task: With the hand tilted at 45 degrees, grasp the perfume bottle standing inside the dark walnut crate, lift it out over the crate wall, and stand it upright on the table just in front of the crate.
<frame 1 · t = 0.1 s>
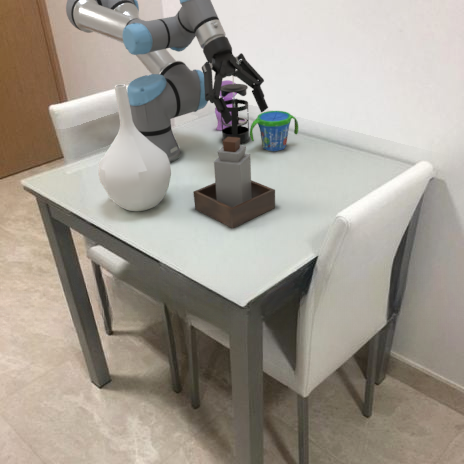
hand: (247, 116, 140), 15 cm above the table, tool tilted 35°, fingers open, 13 cm apart
perfume bottle: (234, 209, 129), resting in crate
crate: (234, 208, 129), on the table
toy chair: (227, 127, 180), on the table
sippy cup: (274, 148, 162), on the table
vase: (140, 203, 135), on the table
french press: (235, 140, 169), on the table
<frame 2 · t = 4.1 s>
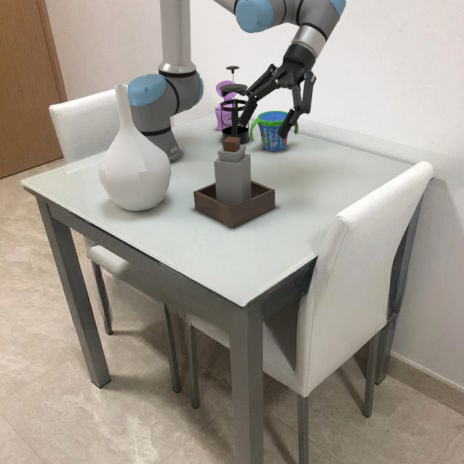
hand: (260, 130, 123), 18 cm above the table, tool tilted 45°, fingers open, 13 cm apart
nothing on the table moved.
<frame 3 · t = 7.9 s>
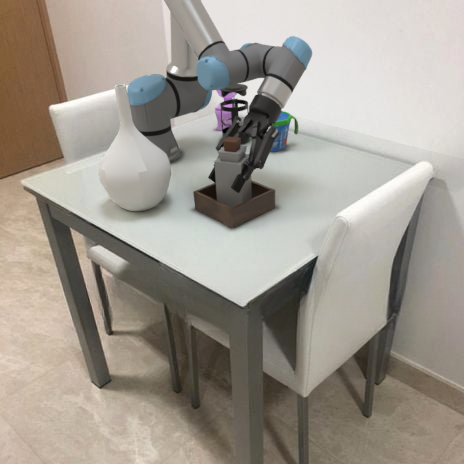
hand: (223, 185, 123), 8 cm above the table, tool tilted 45°, fingers closed on perfume bottle, 8 cm apart
perfume bottle: (235, 209, 129), resting in crate, touching gripper
everything else where it was.
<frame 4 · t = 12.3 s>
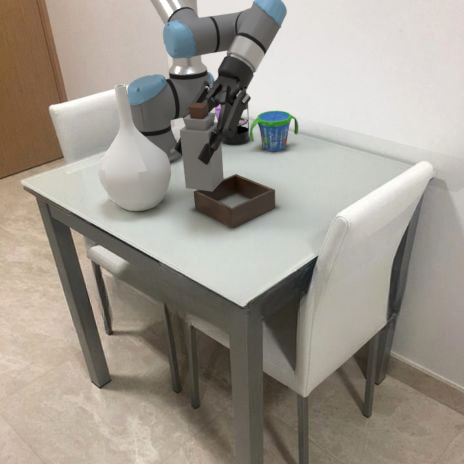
hand: (190, 156, 112), 18 cm above the table, tool tilted 45°, fingers closed on perfume bottle, 8 cm apart
perfume bottle: (205, 184, 119), point 10 cm above the table, touching gripper
everything else where it was.
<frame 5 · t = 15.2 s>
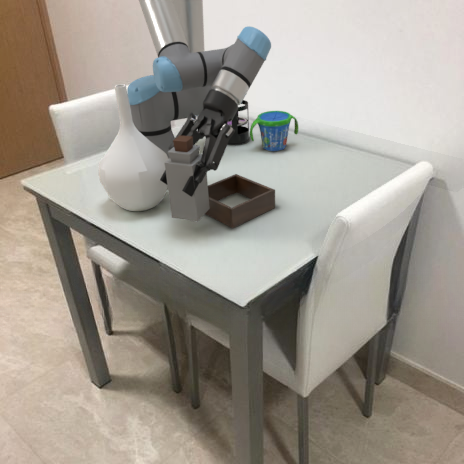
hand: (175, 188, 113), 12 cm above the table, tool tilted 45°, fingers closed on perfume bottle, 8 cm apart
perfume bottle: (190, 213, 120), point 4 cm above the table, touching gripper
everything else where it was.
when the fingers open (8 cm above the table, at t = 17.1 s): perfume bottle stays where it is, on the table.
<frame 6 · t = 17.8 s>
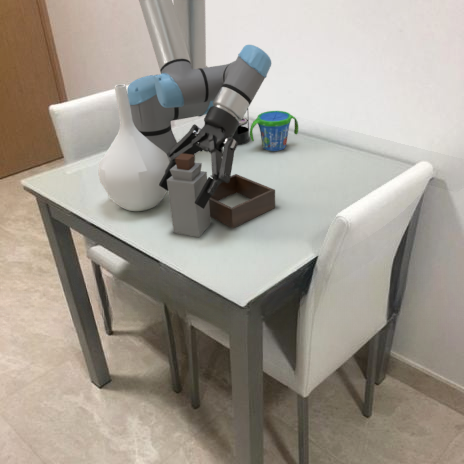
hand: (180, 196, 116), 9 cm above the table, tool tilted 45°, fingers open, 13 cm apart
perfume bottle: (192, 229, 122), on the table
everything else where it was.
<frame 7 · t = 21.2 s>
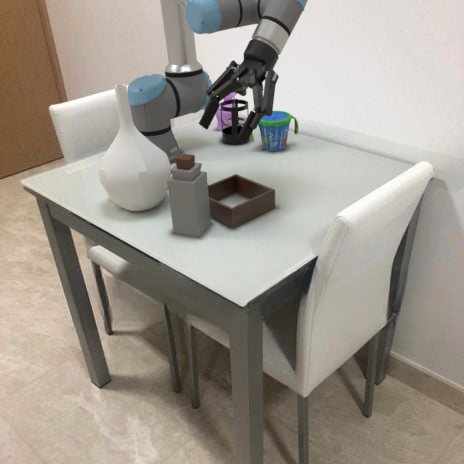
hand: (221, 133, 116), 20 cm above the table, tool tilted 40°, fingers open, 13 cm apart
nothing on the table moved.
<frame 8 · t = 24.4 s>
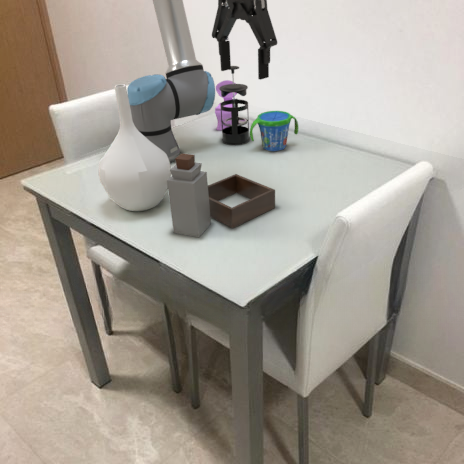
hand: (244, 74, 124), 29 cm above the table, tool pointing down, fingers open, 13 cm apart
nothing on the table moved.
at the end: perfume bottle inside the target area (0.3 cm from its centre), on the table; perfume bottle tilted 0°; the gripper is holding nothing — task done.
